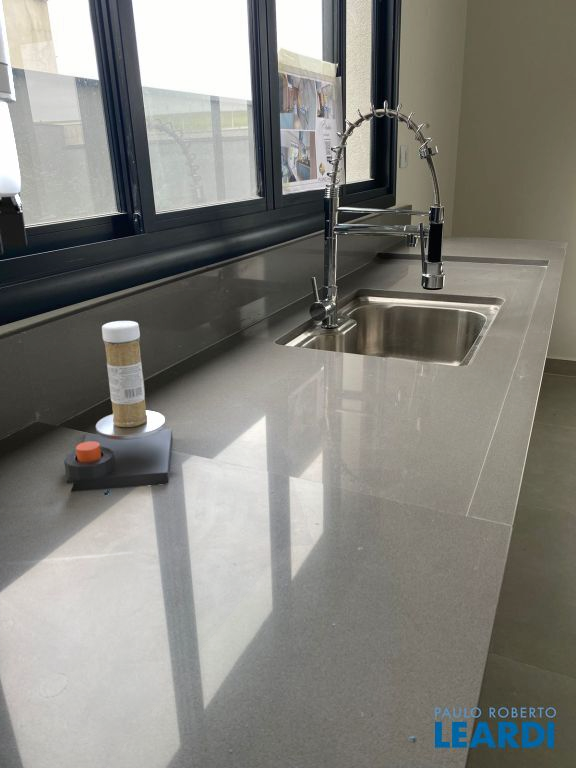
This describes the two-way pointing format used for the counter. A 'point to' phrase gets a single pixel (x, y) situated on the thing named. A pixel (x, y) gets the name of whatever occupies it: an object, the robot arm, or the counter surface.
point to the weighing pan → (123, 433)
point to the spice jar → (125, 373)
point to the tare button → (88, 451)
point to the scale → (123, 463)
